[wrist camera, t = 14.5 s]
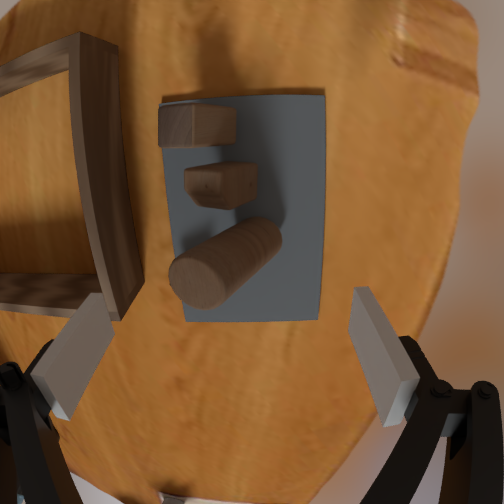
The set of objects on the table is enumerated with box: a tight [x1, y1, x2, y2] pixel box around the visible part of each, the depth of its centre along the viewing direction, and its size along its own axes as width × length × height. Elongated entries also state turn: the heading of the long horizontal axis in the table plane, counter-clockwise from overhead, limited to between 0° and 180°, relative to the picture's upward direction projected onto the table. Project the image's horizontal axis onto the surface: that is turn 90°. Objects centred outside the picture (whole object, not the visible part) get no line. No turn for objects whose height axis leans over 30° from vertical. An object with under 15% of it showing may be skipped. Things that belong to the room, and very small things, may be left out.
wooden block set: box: [158, 102, 282, 310], centre depth 24 cm, size 18×9×10 cm, turn 179°
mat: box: [159, 95, 326, 322], centre depth 29 cm, size 14×22×1 cm, turn 2°
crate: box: [0, 32, 145, 321], centre depth 25 cm, size 28×24×7 cm
